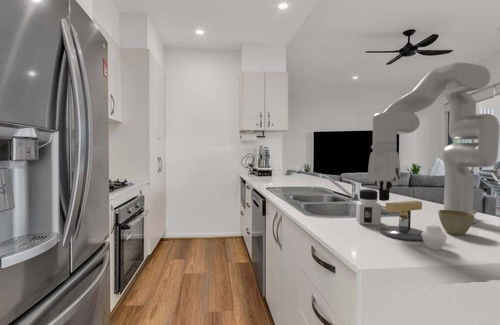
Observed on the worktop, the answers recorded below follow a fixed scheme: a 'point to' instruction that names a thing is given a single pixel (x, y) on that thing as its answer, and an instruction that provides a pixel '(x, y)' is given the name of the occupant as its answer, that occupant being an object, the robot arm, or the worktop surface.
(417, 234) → the post base
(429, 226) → the white rounded lump
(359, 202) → the container
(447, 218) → the olive brown bowl
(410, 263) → the worktop surface
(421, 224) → the worktop surface
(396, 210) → the tan t-shaped block
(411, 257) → the worktop surface
